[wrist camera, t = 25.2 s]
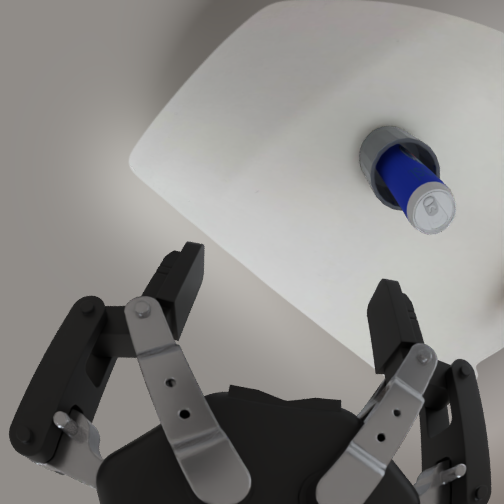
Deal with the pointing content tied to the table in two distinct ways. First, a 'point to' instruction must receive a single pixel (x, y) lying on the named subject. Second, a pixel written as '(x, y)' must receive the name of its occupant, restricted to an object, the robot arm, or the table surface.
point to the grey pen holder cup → (378, 145)
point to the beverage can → (417, 190)
